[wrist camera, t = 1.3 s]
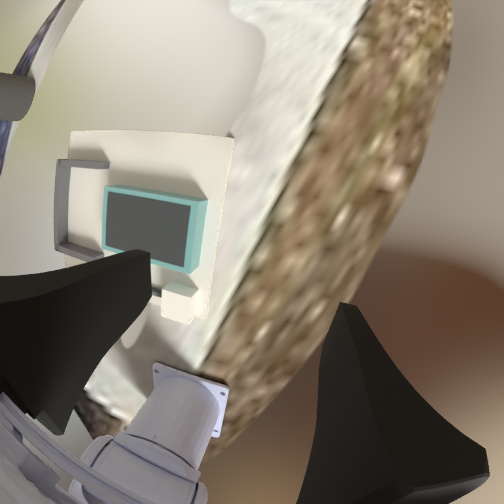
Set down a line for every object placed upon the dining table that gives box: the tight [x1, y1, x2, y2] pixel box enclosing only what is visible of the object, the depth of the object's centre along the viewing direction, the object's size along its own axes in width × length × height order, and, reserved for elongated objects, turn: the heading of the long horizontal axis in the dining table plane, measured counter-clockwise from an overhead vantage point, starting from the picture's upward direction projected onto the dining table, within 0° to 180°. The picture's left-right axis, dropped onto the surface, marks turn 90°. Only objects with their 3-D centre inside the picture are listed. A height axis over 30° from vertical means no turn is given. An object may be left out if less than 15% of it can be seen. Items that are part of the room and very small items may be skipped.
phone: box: [102, 185, 208, 274], centre depth 19 cm, size 8×5×2 cm, turn 81°
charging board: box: [54, 130, 235, 325], centre depth 20 cm, size 16×14×2 cm
